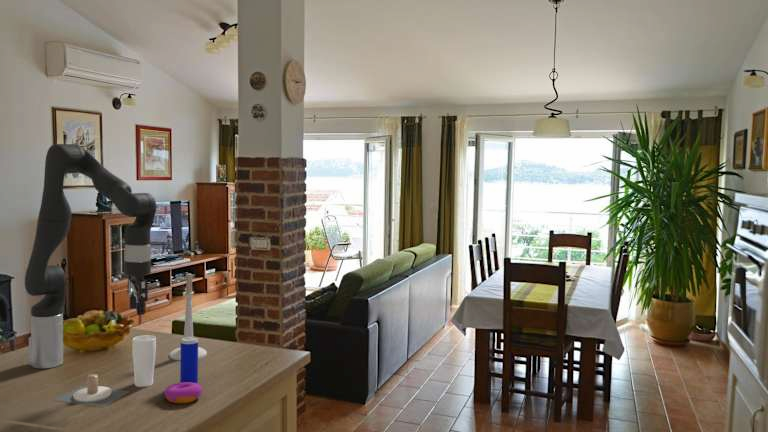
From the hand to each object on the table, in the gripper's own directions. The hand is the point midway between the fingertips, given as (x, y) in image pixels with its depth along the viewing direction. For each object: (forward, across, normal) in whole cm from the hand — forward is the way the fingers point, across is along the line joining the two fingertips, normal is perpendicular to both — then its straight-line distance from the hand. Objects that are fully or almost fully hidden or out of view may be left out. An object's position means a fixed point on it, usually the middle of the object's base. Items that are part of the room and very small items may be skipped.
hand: (137, 311), depth 183 cm
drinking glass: (+24, +1, +2) cm, 24 cm away
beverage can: (+24, +8, +14) cm, 28 cm away
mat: (+24, +3, -13) cm, 27 cm away
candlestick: (+24, -22, +23) cm, 40 cm away
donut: (+24, +17, +9) cm, 31 cm away
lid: (+23, +3, -13) cm, 27 cm away
